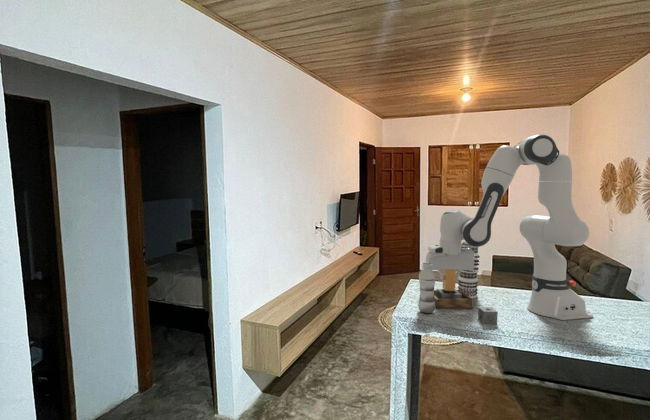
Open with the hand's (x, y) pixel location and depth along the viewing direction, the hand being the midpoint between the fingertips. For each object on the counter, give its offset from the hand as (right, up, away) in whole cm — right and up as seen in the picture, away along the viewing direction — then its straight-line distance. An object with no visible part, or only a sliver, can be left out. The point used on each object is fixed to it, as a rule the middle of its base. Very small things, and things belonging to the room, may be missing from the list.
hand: (449, 279), depth 153 cm
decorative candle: (+13, -10, +12) cm, 20 cm away
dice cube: (+8, -12, -19) cm, 24 cm away
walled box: (0, -10, +1) cm, 11 cm away
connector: (0, -4, 0) cm, 4 cm away
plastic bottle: (-12, -11, -9) cm, 19 cm away
